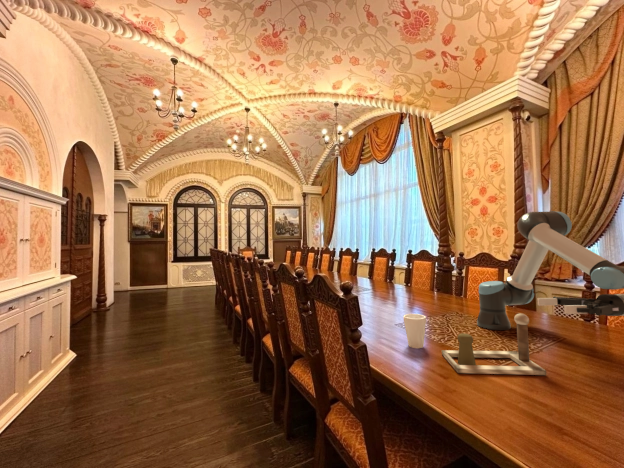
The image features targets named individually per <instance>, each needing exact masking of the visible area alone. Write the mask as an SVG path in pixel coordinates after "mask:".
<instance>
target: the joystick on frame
mask: <svg viewBox="0 0 624 468" xmlns="http://www.w3.org/2000/svg"><path fill="white" fill-rule="evenodd" d="M513 320H514V322H515V323H516V337H517V351H516V350H515V351H514V350H512V351H510V350H473V353H474V358H481V359H483V358H487V359H488V358H489V359H490V358H491V359H493V358H494V359H511V360H512V361H513V362H515V363H516V364H517V365H482V364H481V365H477V364H476V365H459V364H458V362H456V361H455V360H454V358H458V353H459V349H458V350H454V349H453V350H452V349H451V350H450V349H448V350H447V349H445V350H441V355H442V356H443V357H444V358H445V360H446V361H447V362H448V363H449V364H450V365H451V366H452V368H453V369H454V370H455V371H456V373H458V374H481V375H482V374H484V375H485V374H486V375H490V374H491V375H493V374H494V375H526V376H527V375H531V376H534V375H535V376H547V375H548V374H547V370H546V369H545V368H543V367H541V366H540V365H539V364H537V363H535V362H533V361H532V360H530V348H529V347H530V345H529V330H528V324H529V323H530V318H529V316H527V315H526V314H524V313H516V314H515V315H514V318H513Z"/></svg>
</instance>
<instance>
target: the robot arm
mask: <svg viewBox="0 0 624 468" xmlns="http://www.w3.org/2000/svg"><path fill="white" fill-rule="evenodd" d="M572 223H573V222H572V220H571V218H570V216H568V214H566V213H565V212H562V211H555V210H554V211H553V210H552V211H551V210H549V211H530V212H526V213H524V214H522V216H521V217H520V218H519V219H518V221H517V225H516V226H517V231H518V232H519V234H520V235H521V236H523V238H525V239H527V240H528V242H527V244H526V245H525V249H524V251H523V253H522V254H521V257H520V259H519V261H518V262H517V264H516V265H517V266H516V267H515V269H514V271H513V274H512V275H510V276H507V278H506V280H505V282H503V281H499V280H491V281H483V282H481V283H480V284H478V297H479V298H478V299H479V313H478V317H477V319H476V325H477V326H478V327H479V328H482V327H483V329H486V328H487V330H494V331H508V330H510V329H511V328H512V326H511V322H510V319H509V317H508V315H507V311H506V310H507V309H506V306H522V305H523V306H524V305H526V304H530V303H531V302H532V301H533V300H534V297H535V293H534V291H535V290H534V286H533V280H534V279H535V277H536V275H537V273H538V271H539V269H540V267H541V265H542V263H543V261H544V260H545V258H546V256H547V254H548V252H549V251H550V252H552V253H554V255H555V254H556V255H557V256H558V257H560V258H562V259H563V260H565V261H566V262H568V263H570V264H571V265H572V266H574V267H576V268H578V269H579V270H581V271H582V272H584V273H585V274H587V275H588V276H590V280H591V281H592V283H593V284H594V285H595V286H596V287H597V288H599V289H603V290H613V291H615V290H623V289H624V266H623V265H621V266H620V265H617V264H616V263H614V262H612V261H610V260H608V259H606V258H604V257H602V256H601V255H599V254H597V253H595V252H593V251H592V250H590V249H588V248H586V247H585V246H583V245H582V244H580V243H577V242H575V241H574V240H572V239H570V238H568V237H567V235H568V234H569V233H570V232H571V230H572V227H573V225H572ZM536 299H537V306H543V307H544V306H555V307H558V305H559V306H563V310H564V314H565V315H577V314H578V315H580V314H581V315H588V314H589V315H595V316H598V317H600V316H607V317H620V316H621V317H624V293H603V294H599V295H598V296H597V297H596V299H595V298H587V297H565V296H564V297H562V296H553V297H537V298H536Z"/></svg>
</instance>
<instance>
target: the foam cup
mask: <svg viewBox="0 0 624 468" xmlns="http://www.w3.org/2000/svg"><path fill="white" fill-rule="evenodd" d="M403 323H404V328H405V333H406V339H407V345H408V346H409V348H413V349H422V348H424V345H425V336H426V335H425V332H426V324H427V317H426V316H425V315H423V314H418V313H407V314H406V313H405V314H404V315H403Z"/></svg>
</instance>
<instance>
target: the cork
mask: <svg viewBox="0 0 624 468" xmlns="http://www.w3.org/2000/svg"><path fill="white" fill-rule="evenodd" d="M457 342H458V343H459V345H458V350H459V353H458V357H457V364H458V365H477V363H476V357H474V353H473V351H474V349H473V343H474V337H473V336H472V335H471V334H468V333H459V334H458V335H457Z"/></svg>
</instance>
